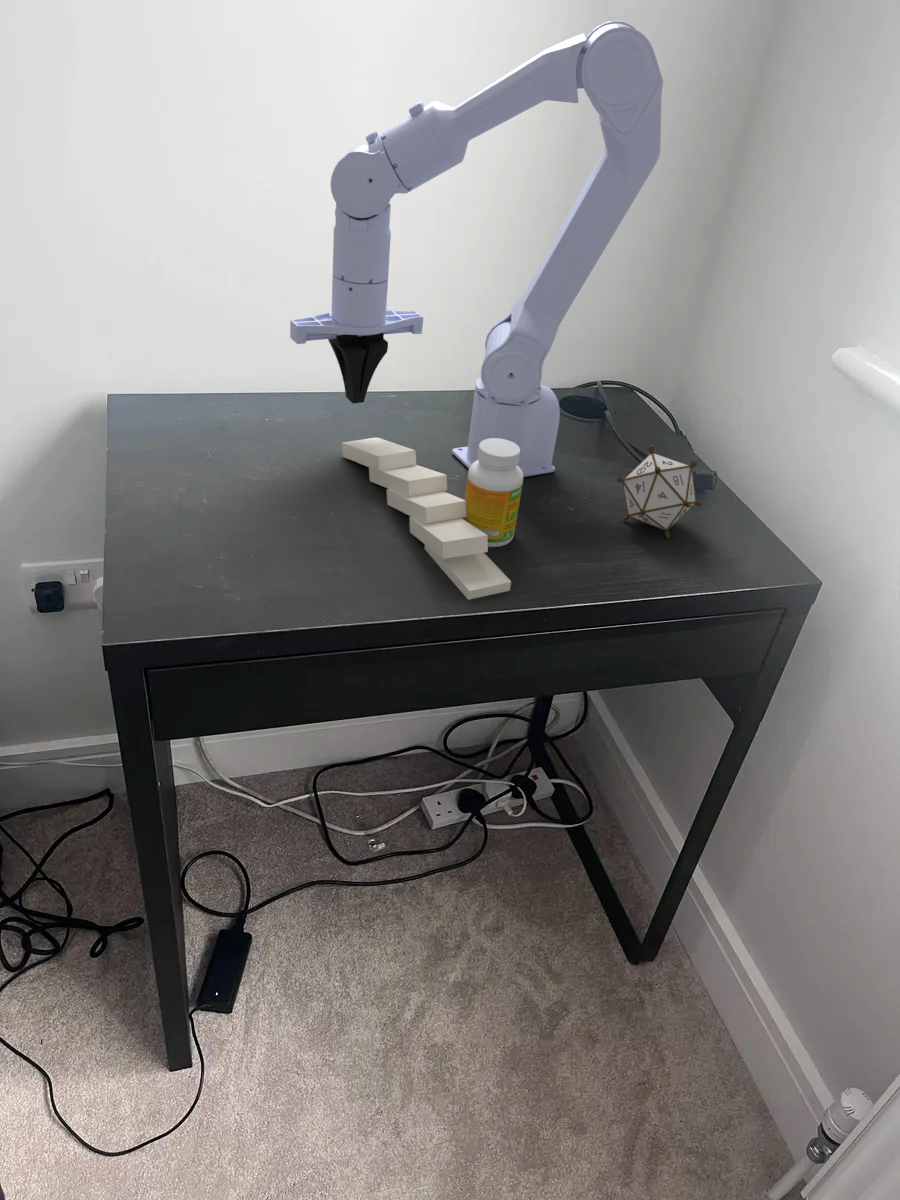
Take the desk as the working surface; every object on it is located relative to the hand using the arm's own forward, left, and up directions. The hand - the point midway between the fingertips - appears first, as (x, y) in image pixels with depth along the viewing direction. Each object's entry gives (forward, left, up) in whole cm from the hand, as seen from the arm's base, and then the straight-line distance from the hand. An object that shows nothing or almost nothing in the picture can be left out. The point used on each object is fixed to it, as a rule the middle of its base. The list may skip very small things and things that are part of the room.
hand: (354, 399), depth 102 cm
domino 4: (0, +19, -5) cm, 20 cm away
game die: (-23, +26, -6) cm, 35 cm away
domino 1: (0, +2, -5) cm, 5 cm away
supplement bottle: (-5, +22, -6) cm, 23 cm away
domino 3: (0, +13, -5) cm, 14 cm away
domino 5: (0, +22, -6) cm, 23 cm away
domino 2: (-1, +8, -5) cm, 10 cm away
